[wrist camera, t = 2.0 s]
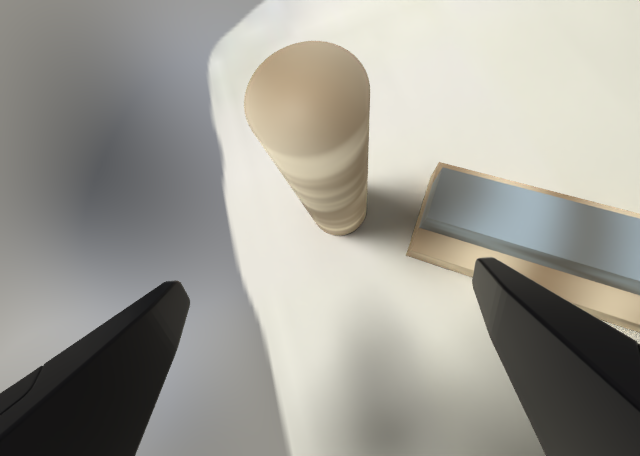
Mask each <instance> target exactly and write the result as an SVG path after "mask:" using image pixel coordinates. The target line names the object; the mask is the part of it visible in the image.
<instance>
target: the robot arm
mask: <svg viewBox="0 0 640 456" xmlns="http://www.w3.org/2000/svg"><path fill="white" fill-rule="evenodd" d="M472 284H473V289H474V292H475V295H476V298H477V300H478V303H479V306H480V309H481V312H482V315H483V318H484V321H485V324H486V327H487V330H488V333H489V335H490V338H491V340H492V342H493V345H494V347H495V349H496V351H497V353H498V355H499V357H500V360H501V362H502V364H503V366H504V368H505V370H506V372H507V374H508V376H509V379H510V381H511V383H512V385H513V387H514V389H515V391H516V393H517V395H518V398H519V400H520V402H521V404H522V406H523V408H524V410H525V412H526V414H527V417H528V419H529V421H530V423H531V425H532V427H533V429H534V431H535V433H536V435H537V438H538V440H539V442H540V444H541V446H542V448H543V450H544V452H545V454H546V456H640V344H638V343H637V342H636V341H635V340H633V339H632V338H630V337H628V336H627V335H625V334H623V333H621V332H620V331H618V330H616V329H615V328H613V327H611V326H610V325H608V324H606V323H604V322H603V321H601V320H599V319H598V318H596V317H594V316H593V315H591V314H589V313H587V312H586V311H584V310H582V309H581V308H579V307H577V306H576V305H574V304H572V303H570V302H569V301H567V300H565V299H564V298H562V297H560V296H559V295H557V294H555V293H553V292H552V291H550V290H548V289H547V288H545V287H543V286H542V285H540V284H538V283H536V282H535V281H533V280H531V279H530V278H528V277H526V276H525V275H523V274H521V273H519V272H518V271H516V270H514V269H513V268H511V267H509V266H507V265H506V264H504V263H502V262H501V261H499V260H497V259H496V258H493V257H485V258H478V259H477V260H476V262H475V267H474V273H473V279H472ZM189 306H190V299H189V297H188V295H187V293H186V291H185V289H184V288H183V286H182V284H181V282H179V281H166V282H164V283H162V284H161V285H159V286H158V287H157V288H155V289H154V290H152V291H151V292H149V293H148V294H146V295H145V296H143V297H142V298H140V299H139V300H137V301H136V302H134V303H133V304H132V305H130V306H129V307H127V308H126V309H124V310H123V311H122V312H120V313H118V314H117V315H115V316H114V317H112V318H111V319H110V320H108V321H107V322H105V323H104V324H103V325H101V326H99V327H98V328H96V329H95V330H93V331H92V332H90V333H89V334H88V335H86V336H85V337H83V338H82V339H81V340H79V341H77V342H76V343H74V344H73V345H71V346H70V347H68V348H67V349H66V350H64V351H63V352H61V353H60V354H58V355H57V356H55V357H54V358H52V359H51V360H49V361H48V362H46V363H45V364H44V366H40V367H39V368H37V369H36V370H34V371H33V372H32V373H30V374H29V375H27V376H26V377H24V378H23V379H21V380H20V381H18V382H17V383H16V384H14V385H12V386H11V387H9V388H8V389H6V390H5V391H3V392H2V393H0V456H135V455H136V452H137V450H138V447H139V445H140V442H141V439H142V437H143V434H144V432H145V429H146V427H147V424H148V422H149V419H150V416H151V414H152V412H153V409H154V407H155V404H156V402H157V399H158V397H159V394H160V391H161V389H162V387H163V384H164V382H165V379H166V377H167V374H168V372H169V369H170V367H171V364H172V361H173V359H174V356H175V354H176V351H177V348H178V345H179V342H180V338H181V335H182V331H183V327H184V324H185V320H186V317H187V313H188V310H189Z"/></svg>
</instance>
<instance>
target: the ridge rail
mask: <svg viewBox="0 0 640 456" xmlns="http://www.w3.org/2000/svg"><path fill="white" fill-rule="evenodd" d="M406 256H409V257H412V258H415V259H419V260H422V261H425V262H428V263H431V264H434V265H437V266H440V267H443V268H446V269H449V270H452V271H455V272H458V273H461V274H464V275H467V276H470V277H473V273H474V267H475V262H476V260H477V259H478V258H485V257H493V258H496V259H497V260H499V261H501V262H502V263H504V264H506V265H507V266H509V267H511V268H513V269H514V270H516V271H518V272H519V273H521V274H523V275H525V276H526V277H528V278H530V279H531V280H533V281H535V282H536V283H538V284H540V285H542V286H543V287H545V288H547V289H548V290H550V291H552V292H553V293H555V294H557V295H559V296H560V297H562V298H564V299H565V300H567V301H569V302H570V303H572V304H574V305H576V306H577V307H579V308H581V309H582V310H584V311H586V312H587V313H589V314H591V315H593V316H594V317H596V318H598V319H600V320H603V321H606V322H609V323H612V324H615V325H618V326H621V327H624V328H627V329H631V330H634V331H637V332H640V214H638V213H634V212H630V211H627V210H623V209H619V208H615V207H611V206H607V205H603V204H599V203H596V202H592V201H588V200H584V199H580V198H576V197H572V196H568V195H565V194H561V193H557V192H553V191H549V190H545V189H541V188H537V187H534V186H530V185H526V184H522V183H518V182H514V181H510V180H506V179H503V178H499V177H495V176H491V175H487V174H483V173H479V172H475V171H472V170H468V169H464V168H460V167H456V166H452V165H448V164H444V163H440V162H439V163H438V165H437V167H436V169H435V170H434V172H433V174H432V176H431V178H430V181H429V184H428V187H427V190H426V194H425V197H424V200H423V203H422V206H421V210H420V213H419V216H418V219H417V222H416V225H415V229H414V232H413V235H412V238H411V241H410V244H409V248H408V251H407V254H406Z"/></svg>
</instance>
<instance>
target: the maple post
mask: <svg viewBox="0 0 640 456" xmlns="http://www.w3.org/2000/svg"><path fill="white" fill-rule="evenodd" d="M244 109H245V115H246V119H247V122H248V124H249V126H250V128H251V130H252V132H253V133H254V134H255V136H256V137H257V139H258V140H259V142H260V143H261V145H262V146H263V147H264V149H265V150H266V152H267V153H268V155H269V156H270V158H271V159H272V160H273V162H274V163H275V165H276V166H277V168H278V169H279V171H280V172H281V173H282V175H283V176H284V178H285V179H286V181H287V182H288V183H289V185H290V186H291V188H292V189H293V191H294V192H295V194H296V195H297V196H298V198H299V199H300V201H301V202H302V204H303V205H304V207H305V208H306V209H307V211H308V212H309V214H310V215H311V217H312V218H313V220H314V221H315V222H316V224H317V225H318V226H319V228H321V229H322V230H323V231H324V232H326V233H328V234H331V235H337V236H340V235H346V234H349V233H352V232H353V231H355V230H356V229H357V228H358V227H359V226H360V225H361V224H362V223H363V221H364V219H365V216H366V210H367V178H368V144H369V111H370V84H369V79H368V76H367V73H366V71H365V69H364V67H363V65H362V64H361V63H360V61H359V60H358V59H357V58H356V57H355V56H354V55H353V54H352V53H350V52H349V51H348V50H346V49H344V48H342V47H341V46H338V45H335V44H332V43H328V42H322V41H306V42H300V43H296V44H292V45H289V46H287V47H285V48H282V49H280V50H279V51H277V52H275V53H274V54H272V55H271V56H270V57H268V58H267V59H266V60H265V61H264V62H263V63H262V64H261V65H260V66H259V67H258V68H257V69H256V71H255V72H254V74H253V75H252V77H251V79H250V81H249V83H248V86H247V89H246V93H245V99H244Z"/></svg>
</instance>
